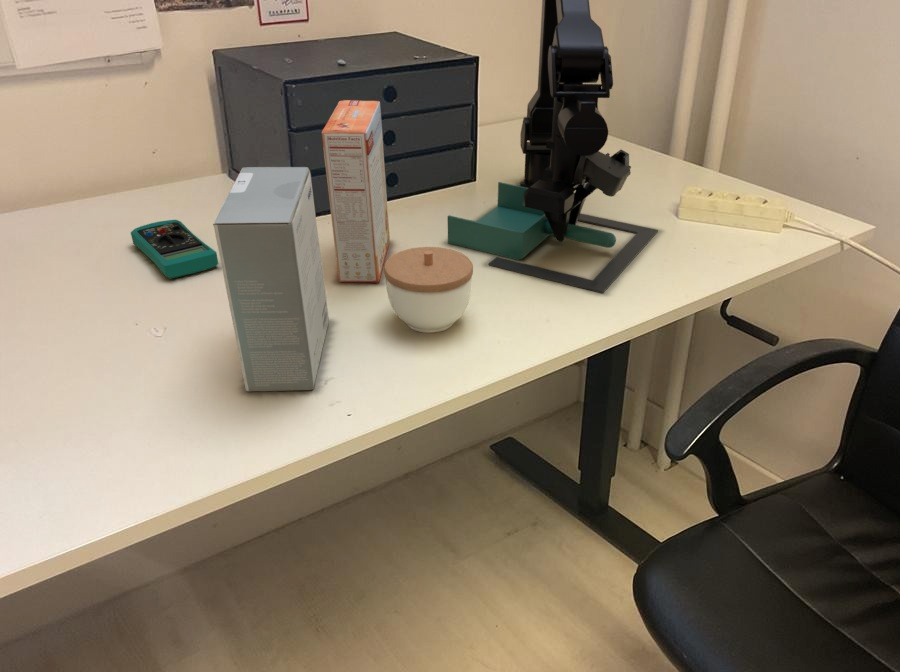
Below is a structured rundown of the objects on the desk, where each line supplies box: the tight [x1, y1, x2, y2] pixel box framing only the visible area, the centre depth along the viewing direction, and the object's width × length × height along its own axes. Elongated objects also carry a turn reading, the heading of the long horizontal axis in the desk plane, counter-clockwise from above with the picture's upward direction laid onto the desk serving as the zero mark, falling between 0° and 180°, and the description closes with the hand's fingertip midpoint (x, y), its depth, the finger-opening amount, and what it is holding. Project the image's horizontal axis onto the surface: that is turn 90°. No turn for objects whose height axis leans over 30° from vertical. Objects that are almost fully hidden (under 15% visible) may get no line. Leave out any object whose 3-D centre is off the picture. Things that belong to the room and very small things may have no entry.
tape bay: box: [488, 213, 659, 294], centre depth 121 cm, size 18×24×1 cm
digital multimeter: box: [130, 219, 219, 279], centre depth 114 cm, size 7×15×3 cm, turn 39°
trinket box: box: [383, 246, 474, 334], centre depth 99 cm, size 11×11×9 cm
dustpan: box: [447, 181, 617, 261], centre depth 122 cm, size 24×17×4 cm
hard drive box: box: [212, 166, 330, 392], centre depth 89 cm, size 16×8×20 cm, turn 5°
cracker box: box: [321, 99, 391, 283], centre depth 110 cm, size 14×6×21 cm, turn 1°
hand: (564, 236), depth 122 cm, fingers open, 3 cm apart
